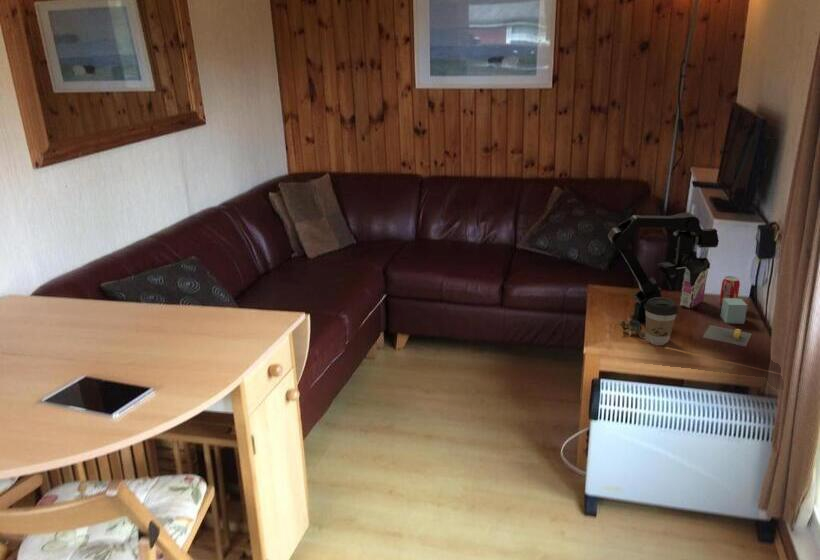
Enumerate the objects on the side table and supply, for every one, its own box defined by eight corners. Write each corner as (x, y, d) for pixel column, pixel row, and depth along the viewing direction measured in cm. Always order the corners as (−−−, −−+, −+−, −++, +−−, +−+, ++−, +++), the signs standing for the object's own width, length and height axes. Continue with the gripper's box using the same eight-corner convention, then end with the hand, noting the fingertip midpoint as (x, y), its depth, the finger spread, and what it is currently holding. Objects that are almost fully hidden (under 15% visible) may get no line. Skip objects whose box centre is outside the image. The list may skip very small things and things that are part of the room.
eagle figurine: (616, 333, 233) (640, 335, 227) (619, 314, 235) (643, 316, 228) (624, 338, 239) (648, 340, 233) (627, 319, 240) (651, 321, 234)
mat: (702, 338, 230) (703, 331, 229) (709, 326, 239) (710, 319, 238) (745, 348, 222) (747, 340, 221) (751, 335, 231) (752, 327, 230)
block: (725, 324, 240) (729, 304, 238) (720, 317, 246) (723, 298, 243) (743, 325, 240) (747, 305, 237) (737, 317, 246) (741, 298, 243)
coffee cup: (642, 347, 225) (647, 307, 219) (637, 333, 235) (642, 295, 230) (677, 349, 223) (682, 309, 217) (670, 335, 233) (675, 296, 228)
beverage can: (737, 310, 252) (742, 281, 248) (720, 309, 253) (725, 280, 249) (733, 304, 258) (738, 276, 254) (716, 303, 259) (721, 275, 255)
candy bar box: (691, 309, 254) (696, 270, 248) (679, 305, 258) (684, 267, 252) (704, 301, 261) (709, 263, 255) (692, 298, 265) (697, 260, 259)
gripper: (677, 257, 226) (673, 298, 232) (723, 251, 231) (717, 291, 236) (658, 248, 236) (654, 287, 242) (702, 242, 241) (697, 281, 246)
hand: (681, 287), depth 241 cm, fingers open, 9 cm apart
